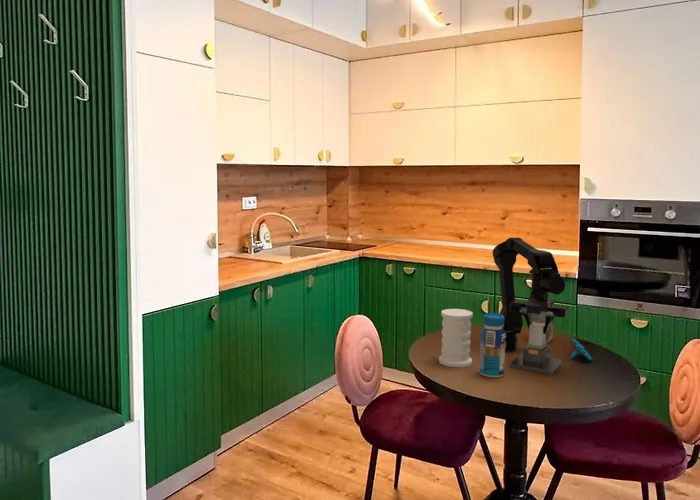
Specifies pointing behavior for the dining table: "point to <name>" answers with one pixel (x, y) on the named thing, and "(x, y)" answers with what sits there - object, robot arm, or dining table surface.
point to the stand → (536, 361)
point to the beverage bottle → (492, 346)
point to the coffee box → (541, 319)
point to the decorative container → (456, 338)
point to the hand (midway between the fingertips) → (537, 332)
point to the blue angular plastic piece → (580, 350)
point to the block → (537, 336)
